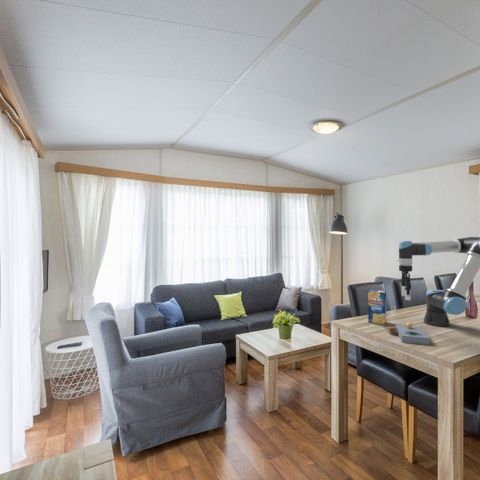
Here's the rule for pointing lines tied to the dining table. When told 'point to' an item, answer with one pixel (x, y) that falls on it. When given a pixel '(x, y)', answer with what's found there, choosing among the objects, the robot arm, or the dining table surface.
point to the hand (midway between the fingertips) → (405, 298)
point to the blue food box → (377, 306)
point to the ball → (409, 325)
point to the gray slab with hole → (412, 334)
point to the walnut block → (392, 330)
